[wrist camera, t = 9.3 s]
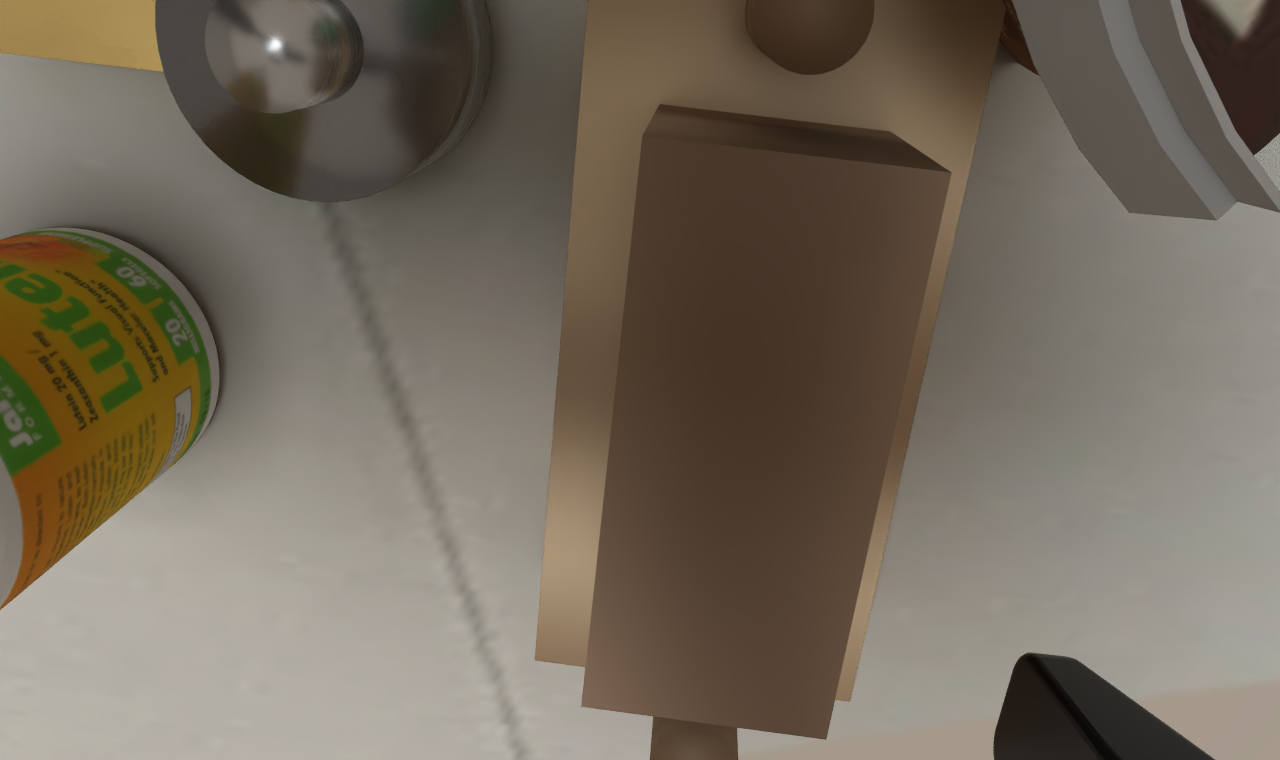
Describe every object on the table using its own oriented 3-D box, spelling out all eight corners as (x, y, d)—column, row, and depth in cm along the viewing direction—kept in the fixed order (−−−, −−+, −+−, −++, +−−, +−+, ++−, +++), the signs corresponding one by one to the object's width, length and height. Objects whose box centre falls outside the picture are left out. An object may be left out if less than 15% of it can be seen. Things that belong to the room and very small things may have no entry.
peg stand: (612, -51, 17) (563, -82, 11) (961, -12, 17) (1087, -24, 11) (558, 574, 21) (503, 775, 16) (831, 610, 21) (874, 826, 16)
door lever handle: (13, -150, 17) (-170, -192, 13) (499, -97, 17) (442, -125, 13) (47, 143, 19) (-109, 174, 15) (485, 195, 18) (431, 239, 15)
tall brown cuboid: (609, 559, 18) (581, 706, 14) (659, 103, 15) (641, 136, 11) (801, 584, 18) (826, 739, 14) (890, 131, 15) (952, 172, 11)
